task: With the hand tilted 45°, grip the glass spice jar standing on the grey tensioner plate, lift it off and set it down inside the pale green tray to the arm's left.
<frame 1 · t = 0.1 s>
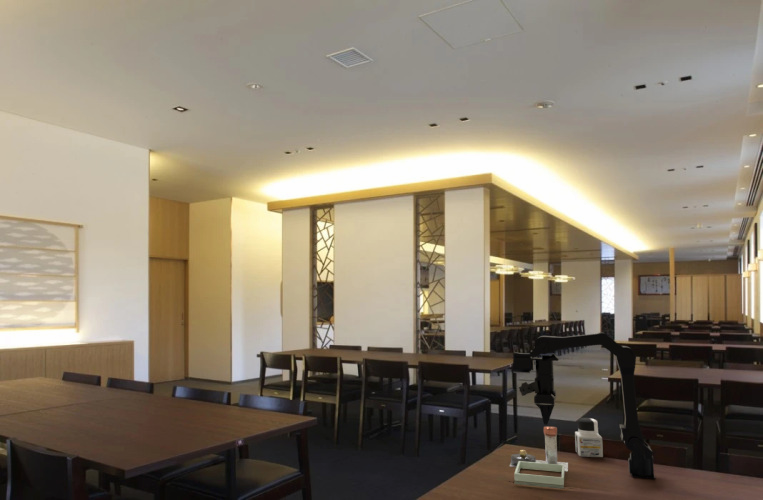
hand: (546, 421, 179), 15 cm above the table, tool pointing down, fingers open, 9 cm apart
container: (589, 457, 190), on the table
glass spice jar: (551, 465, 176), point 1 cm above the table, touching tensioner plate
tensioner plate: (539, 467, 177), on the table
tray: (540, 479, 165), on the table
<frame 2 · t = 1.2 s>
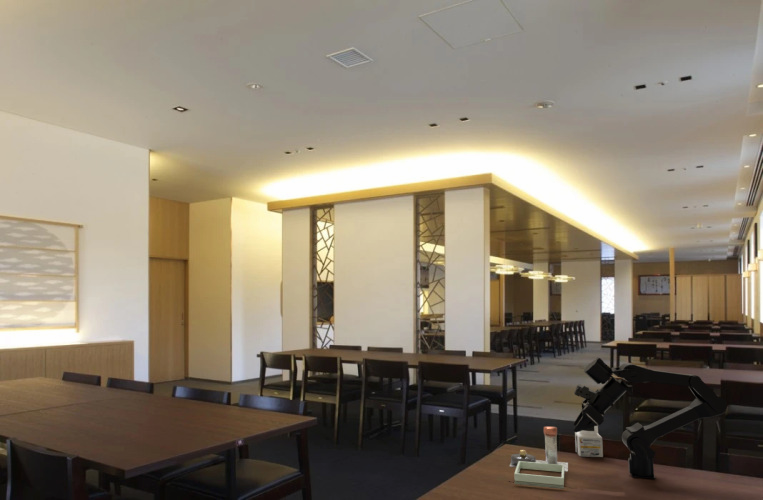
hand: (574, 428, 175), 13 cm above the table, tool tilted 45°, fingers open, 9 cm apart
nothing on the table moved.
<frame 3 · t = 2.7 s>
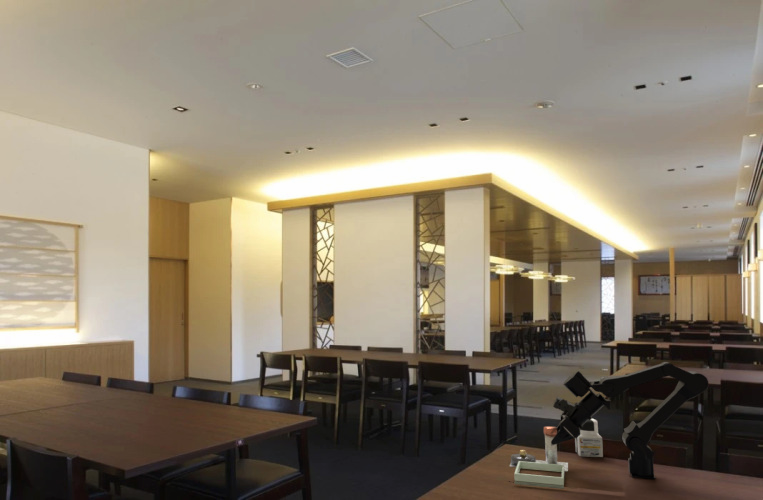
hand: (552, 440, 177), 9 cm above the table, tool tilted 45°, fingers open, 9 cm apart
nothing on the table moved.
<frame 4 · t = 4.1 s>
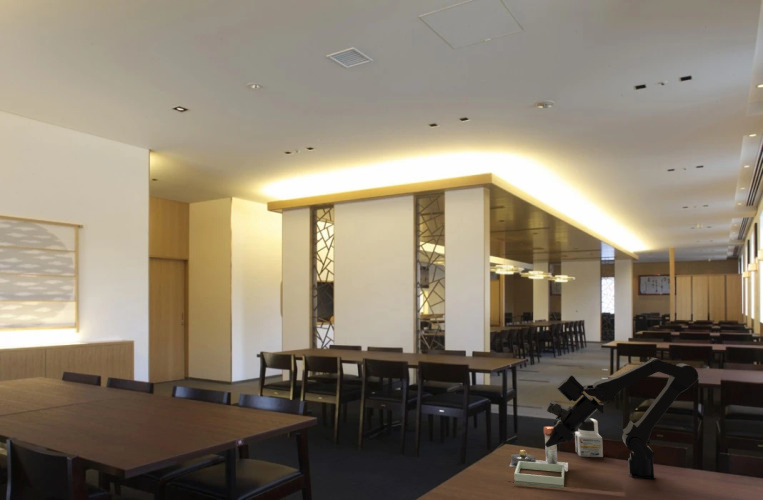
hand: (546, 444, 177), 8 cm above the table, tool tilted 45°, fingers closed on glass spice jar, 4 cm apart
glass spice jar: (551, 465, 176), point 1 cm above the table, touching gripper, tensioner plate
everything else where it was.
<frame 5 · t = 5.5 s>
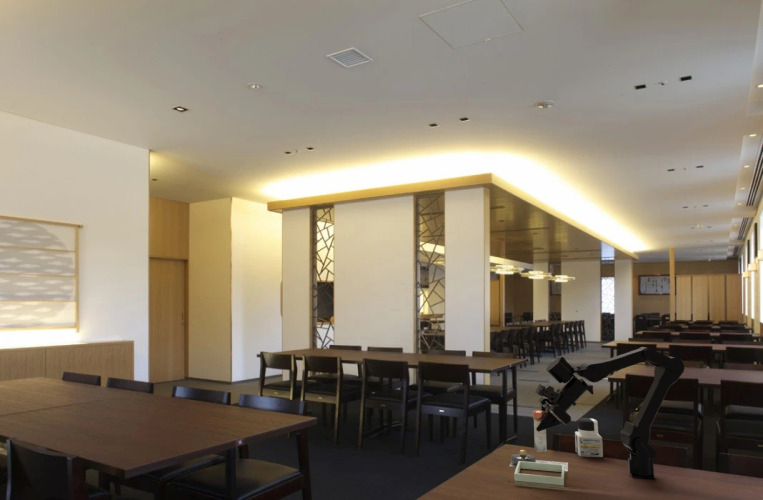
hand: (535, 429, 171), 14 cm above the table, tool tilted 45°, fingers closed on glass spice jar, 4 cm apart
glass spice jar: (540, 450, 170), point 7 cm above the table, touching gripper
everything else where it was.
when the fingers open (9 cm above the table, at t = 7.0 s): glass spice jar drops 1 cm, resting on tray.
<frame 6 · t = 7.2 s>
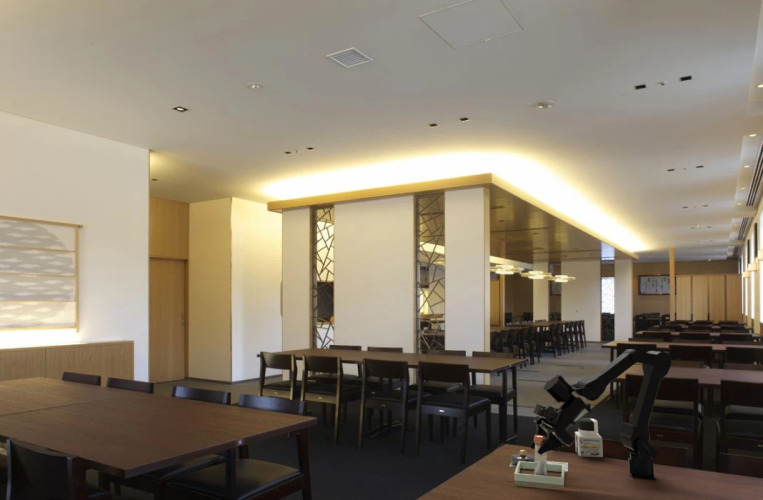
hand: (534, 450, 166), 9 cm above the table, tool tilted 45°, fingers open, 6 cm apart
glass spice jar: (540, 476, 165), point 1 cm above the table, touching tray
everything else where it was.
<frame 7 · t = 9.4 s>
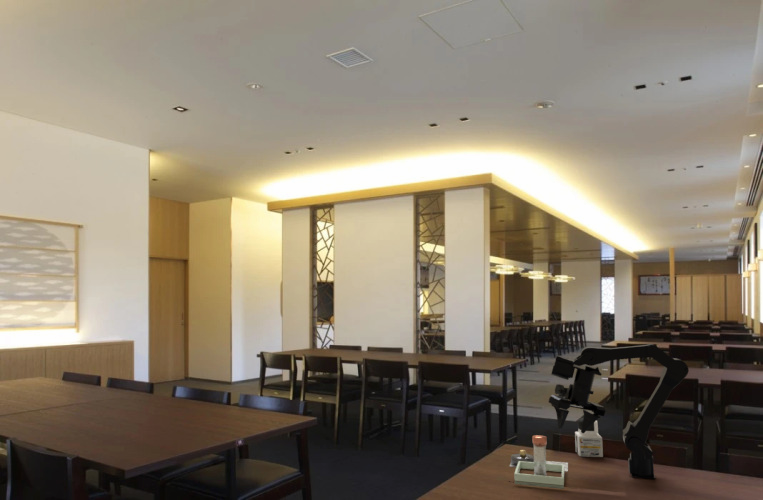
hand: (571, 430, 176), 12 cm above the table, tool tilted 15°, fingers open, 9 cm apart
nothing on the table moved.
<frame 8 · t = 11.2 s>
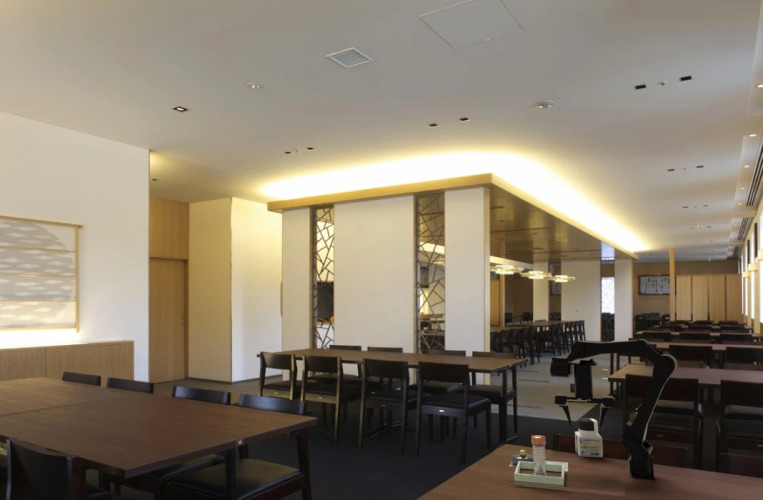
hand: (585, 426, 179), 13 cm above the table, tool pointing down, fingers open, 9 cm apart
nothing on the table moved.
at the end: glass spice jar inside the target area on the tray (0.0 cm from its centre), point 0.6 cm above the tray's base; the gripper is holding nothing; glass spice jar moved 12.8 cm from its start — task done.
